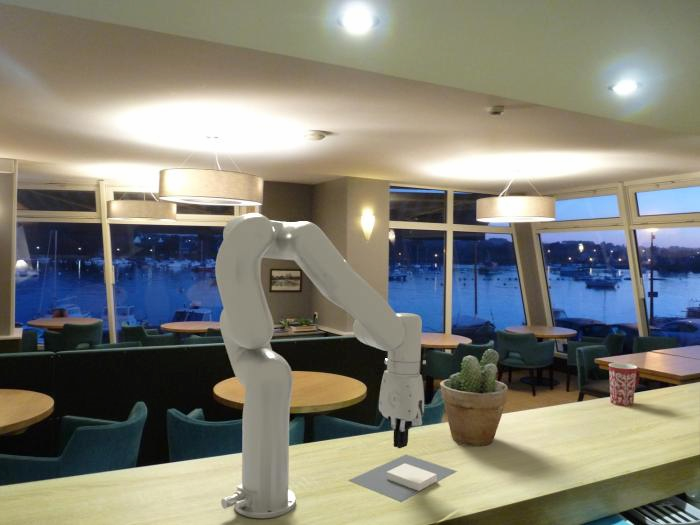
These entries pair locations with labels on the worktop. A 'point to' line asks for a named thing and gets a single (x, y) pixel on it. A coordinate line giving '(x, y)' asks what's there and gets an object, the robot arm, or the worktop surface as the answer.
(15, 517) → the worktop surface
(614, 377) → the mug
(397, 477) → the tile
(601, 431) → the worktop surface
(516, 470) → the worktop surface
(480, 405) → the potted plant
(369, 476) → the mat
